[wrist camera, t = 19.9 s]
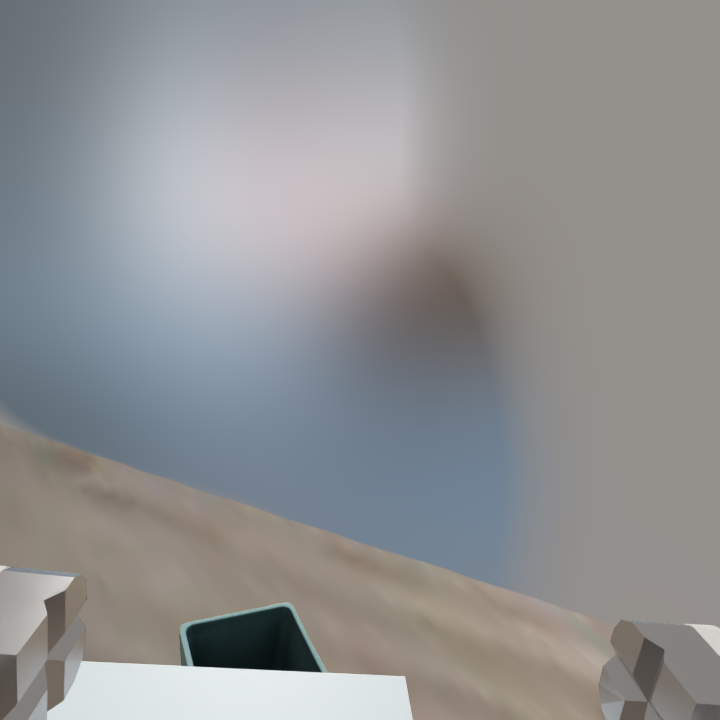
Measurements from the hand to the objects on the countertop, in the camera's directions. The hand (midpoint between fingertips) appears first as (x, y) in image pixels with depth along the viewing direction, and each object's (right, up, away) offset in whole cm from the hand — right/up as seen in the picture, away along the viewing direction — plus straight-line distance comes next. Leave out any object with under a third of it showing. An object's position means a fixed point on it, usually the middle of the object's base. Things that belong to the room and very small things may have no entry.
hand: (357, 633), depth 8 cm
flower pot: (-9, -25, +31) cm, 41 cm away
